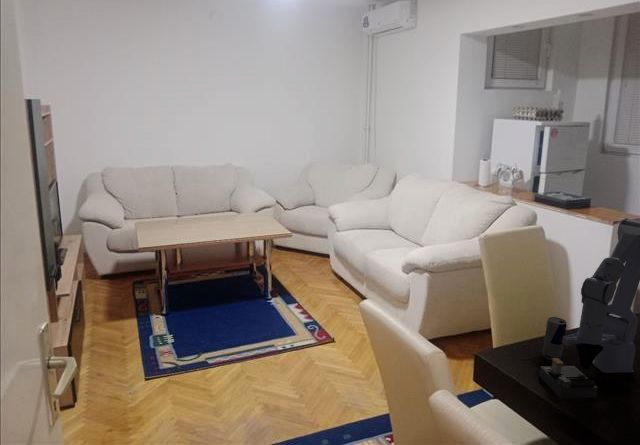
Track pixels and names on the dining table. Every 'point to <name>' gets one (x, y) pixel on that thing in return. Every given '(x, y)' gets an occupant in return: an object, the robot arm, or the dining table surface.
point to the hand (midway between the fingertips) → (584, 367)
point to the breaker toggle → (556, 366)
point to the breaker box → (569, 383)
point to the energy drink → (554, 338)
